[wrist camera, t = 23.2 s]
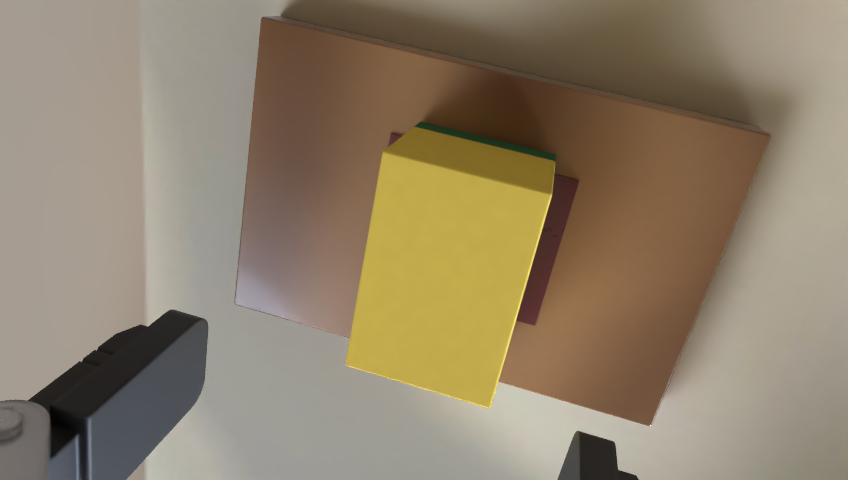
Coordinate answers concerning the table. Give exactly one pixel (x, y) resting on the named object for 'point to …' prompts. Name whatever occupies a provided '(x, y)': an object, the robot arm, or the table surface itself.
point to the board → (564, 224)
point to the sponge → (448, 259)
